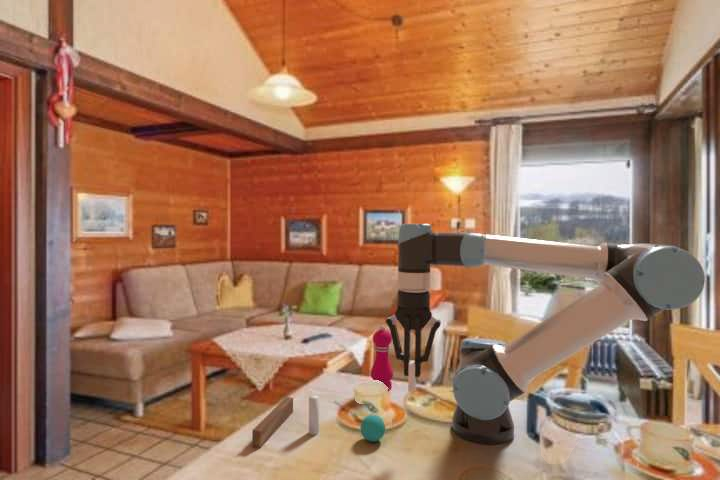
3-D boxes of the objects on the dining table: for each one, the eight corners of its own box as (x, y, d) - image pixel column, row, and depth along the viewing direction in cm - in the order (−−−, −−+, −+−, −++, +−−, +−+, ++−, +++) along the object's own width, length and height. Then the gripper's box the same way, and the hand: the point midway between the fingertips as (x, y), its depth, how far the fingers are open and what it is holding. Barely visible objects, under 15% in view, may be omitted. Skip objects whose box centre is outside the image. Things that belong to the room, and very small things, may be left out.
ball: (387, 435, 107) (387, 411, 107) (382, 447, 101) (383, 422, 101) (363, 432, 109) (363, 409, 108) (357, 444, 103) (357, 419, 103)
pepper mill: (391, 392, 135) (392, 328, 134) (368, 390, 136) (369, 327, 135) (394, 384, 142) (395, 323, 141) (372, 382, 143) (373, 322, 143)
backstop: (293, 412, 120) (293, 397, 120) (260, 448, 101) (260, 431, 101) (286, 411, 121) (286, 397, 121) (252, 447, 101) (252, 430, 101)
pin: (319, 431, 109) (319, 395, 109) (316, 435, 107) (316, 399, 107) (310, 430, 110) (310, 394, 110) (307, 434, 108) (307, 398, 107)
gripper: (442, 288, 104) (440, 386, 105) (388, 286, 107) (387, 381, 108) (441, 293, 96) (439, 398, 97) (383, 290, 99) (381, 392, 100)
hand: (412, 389), depth 102 cm, fingers closed
